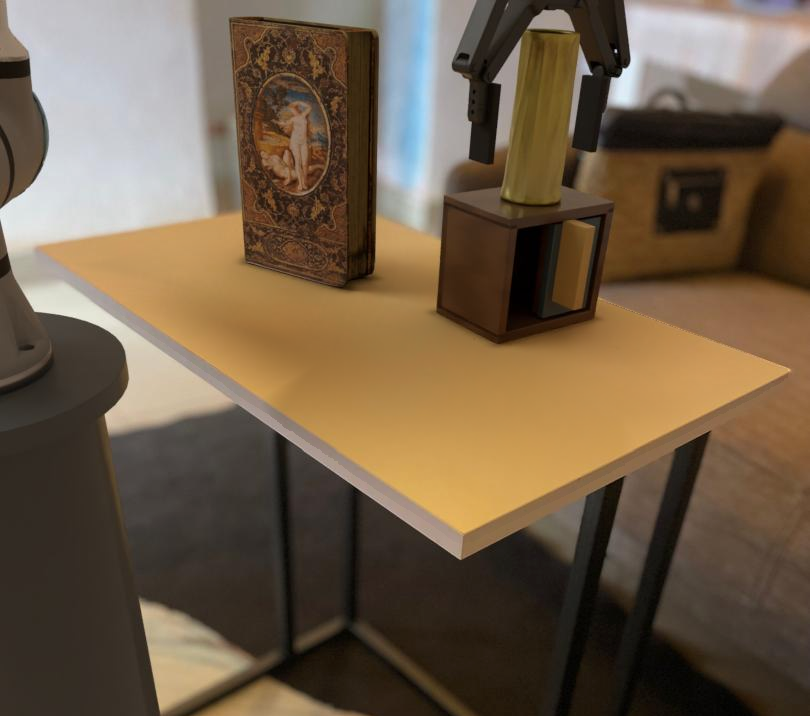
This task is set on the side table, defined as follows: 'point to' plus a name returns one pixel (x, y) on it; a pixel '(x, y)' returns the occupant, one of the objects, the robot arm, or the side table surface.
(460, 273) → the small wooden bookshelf
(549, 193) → the vase
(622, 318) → the side table surface
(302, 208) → the book
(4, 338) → the robot arm
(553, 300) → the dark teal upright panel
